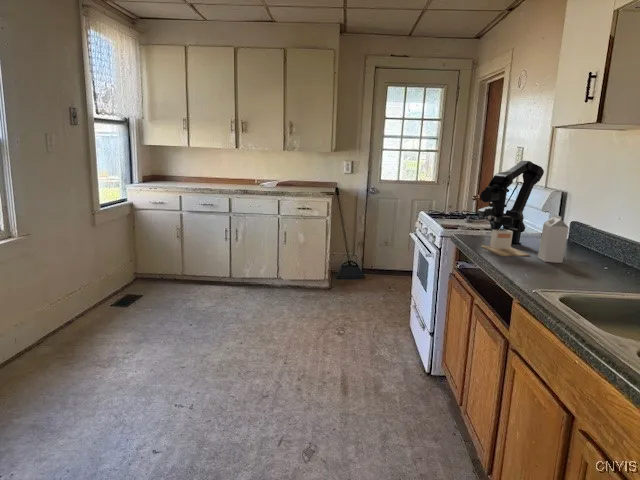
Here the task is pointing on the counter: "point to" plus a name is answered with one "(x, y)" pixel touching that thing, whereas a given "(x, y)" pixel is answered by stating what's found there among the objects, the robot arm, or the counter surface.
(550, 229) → the milk carton
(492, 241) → the cream box
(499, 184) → the robot arm
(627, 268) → the counter surface
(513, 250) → the mat
